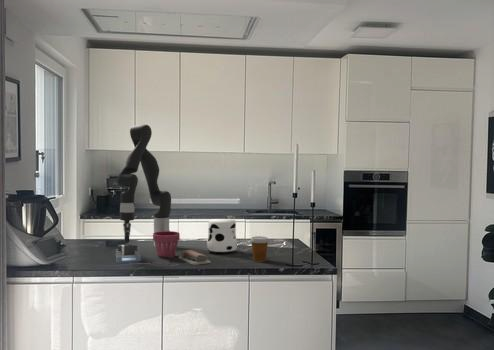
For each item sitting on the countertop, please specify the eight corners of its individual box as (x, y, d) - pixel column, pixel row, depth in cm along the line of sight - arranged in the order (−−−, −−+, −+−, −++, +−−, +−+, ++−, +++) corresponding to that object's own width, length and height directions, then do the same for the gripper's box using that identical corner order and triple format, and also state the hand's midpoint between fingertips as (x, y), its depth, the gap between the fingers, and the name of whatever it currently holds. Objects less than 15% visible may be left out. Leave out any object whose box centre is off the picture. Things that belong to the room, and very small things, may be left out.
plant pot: (171, 260, 245) (171, 235, 245) (147, 258, 250) (147, 234, 249) (184, 255, 258) (184, 232, 258) (161, 253, 263) (161, 230, 263)
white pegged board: (138, 254, 260) (138, 247, 260) (141, 262, 239) (141, 255, 239) (115, 255, 256) (115, 248, 256) (116, 264, 235) (116, 257, 235)
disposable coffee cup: (257, 263, 241) (258, 239, 240) (246, 259, 248) (247, 237, 248) (272, 261, 246) (272, 238, 246) (261, 257, 254) (261, 235, 253)
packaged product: (177, 250, 250) (194, 248, 255) (177, 259, 250) (194, 257, 255) (193, 256, 235) (211, 254, 240) (193, 266, 235) (211, 263, 241)
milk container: (243, 252, 269) (243, 220, 268) (221, 256, 256) (221, 223, 255) (222, 248, 280) (222, 217, 280) (200, 252, 268) (200, 220, 267)
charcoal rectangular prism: (136, 253, 256) (137, 244, 256) (137, 254, 253) (137, 245, 253) (117, 254, 253) (117, 245, 253) (118, 255, 250) (118, 246, 250)
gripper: (135, 212, 247) (134, 243, 247) (133, 209, 260) (133, 239, 261) (120, 212, 245) (119, 243, 245) (119, 209, 258) (119, 239, 259)
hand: (126, 241), depth 253 cm, fingers open, 8 cm apart
